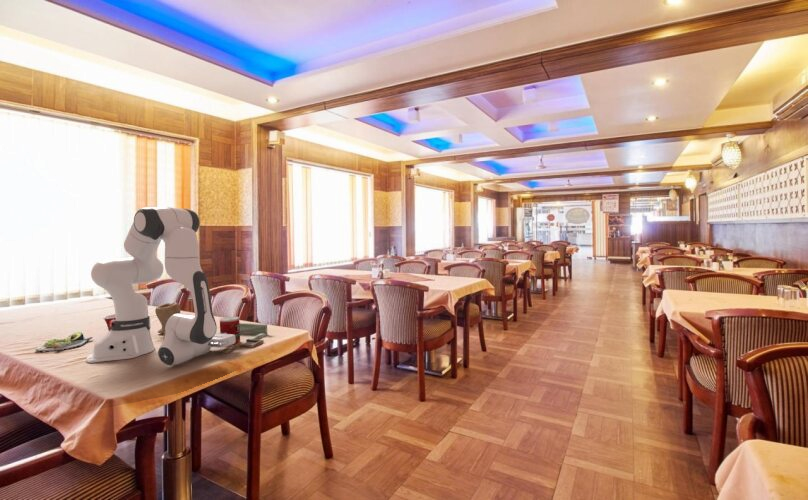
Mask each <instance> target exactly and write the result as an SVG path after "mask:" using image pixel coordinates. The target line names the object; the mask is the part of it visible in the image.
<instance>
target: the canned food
mask: <svg viewBox="0 0 808 500" xmlns="http://www.w3.org/2000/svg"><path fill="white" fill-rule="evenodd" d="M239 323H240V317H239V316H226V317H221V318H220V319H219V331H220V332H221V333H227V334H234V335H235V338H236V342H235V343H234V344H232V345H229V346H228V347H230V346H233V345H235V344H241V334H240V324H239ZM220 332H219V333H220Z"/></svg>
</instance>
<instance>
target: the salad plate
mask: <svg viewBox="0 0 808 500" xmlns="http://www.w3.org/2000/svg"><path fill="white" fill-rule="evenodd" d="M93 338H94V337H93V336H91V337H88V336H87V337H85V336H84V333H82V332H81V331H80V332H74V333H72V334H71V335H69V336H68V337H67V338H64V339H61V338H60V339H56V338H54V339H51V340H47V342H43V343H42V344H40V345H39V346H37V347H36V348H35V350H36V351H37V352H40V351H51V352H56V351H55V350H61V351H65V350H64V349H66V350H70V349H69V348H71V349H74V348H73V347H75V348H78V347H77V346H79V347H81V346H83V345H84V344H86V343H87V342H88V341H90V340H91V339H93ZM85 342H86V343H85ZM42 347H54V348H45V349H42Z"/></svg>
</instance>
